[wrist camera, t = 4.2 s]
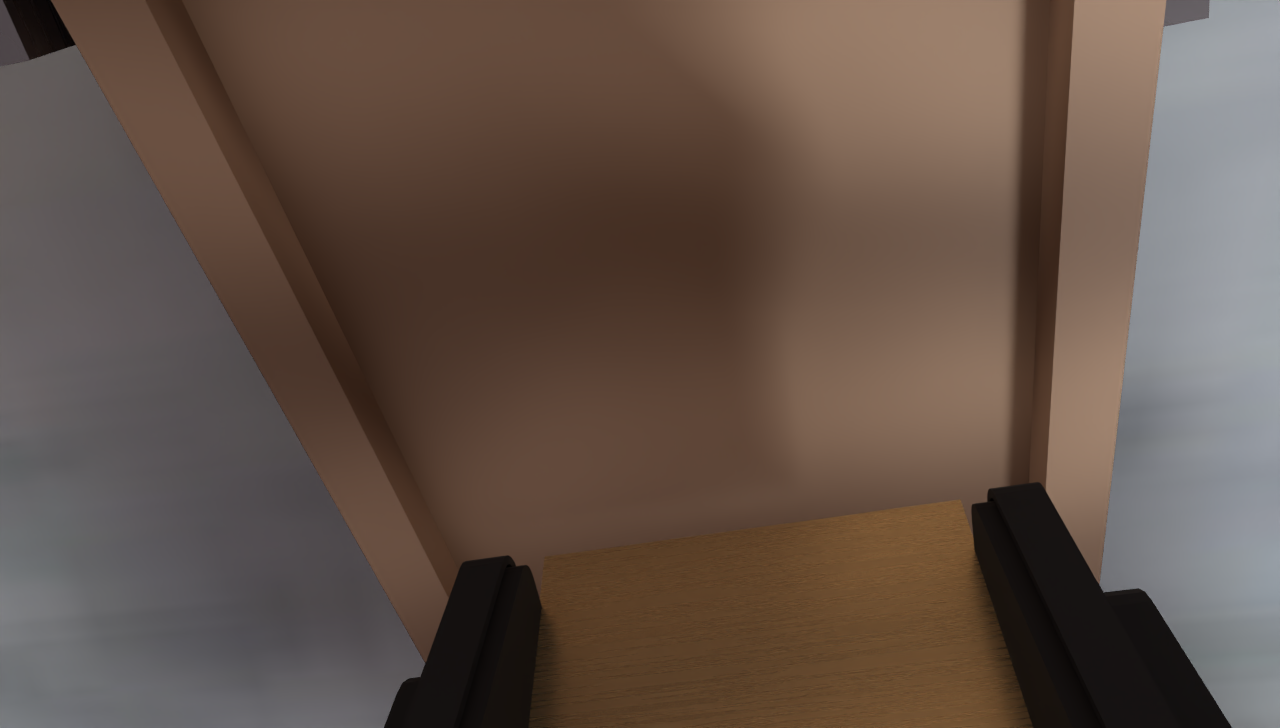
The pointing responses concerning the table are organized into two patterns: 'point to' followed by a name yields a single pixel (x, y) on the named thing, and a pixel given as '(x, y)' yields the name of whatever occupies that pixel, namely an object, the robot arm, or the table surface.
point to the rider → (778, 630)
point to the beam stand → (31, 27)
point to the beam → (656, 253)
